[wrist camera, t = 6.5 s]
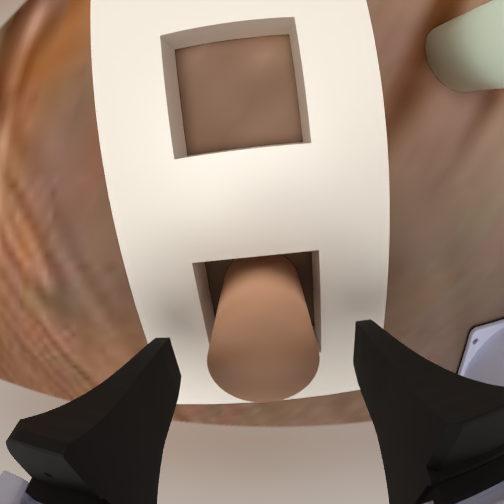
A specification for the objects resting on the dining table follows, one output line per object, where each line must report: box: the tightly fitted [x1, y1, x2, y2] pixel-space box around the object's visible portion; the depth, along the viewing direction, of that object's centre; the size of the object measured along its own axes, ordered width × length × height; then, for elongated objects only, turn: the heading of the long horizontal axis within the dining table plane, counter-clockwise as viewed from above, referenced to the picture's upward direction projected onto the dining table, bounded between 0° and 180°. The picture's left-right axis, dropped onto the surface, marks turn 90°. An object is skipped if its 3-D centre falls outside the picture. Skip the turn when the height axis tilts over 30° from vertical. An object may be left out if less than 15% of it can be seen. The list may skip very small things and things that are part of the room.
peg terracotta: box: [207, 254, 320, 403], centre depth 14 cm, size 4×4×6 cm
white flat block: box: [91, 0, 390, 404], centre depth 14 cm, size 22×12×2 cm, turn 7°
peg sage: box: [425, 0, 504, 92], centre depth 9 cm, size 4×4×6 cm
